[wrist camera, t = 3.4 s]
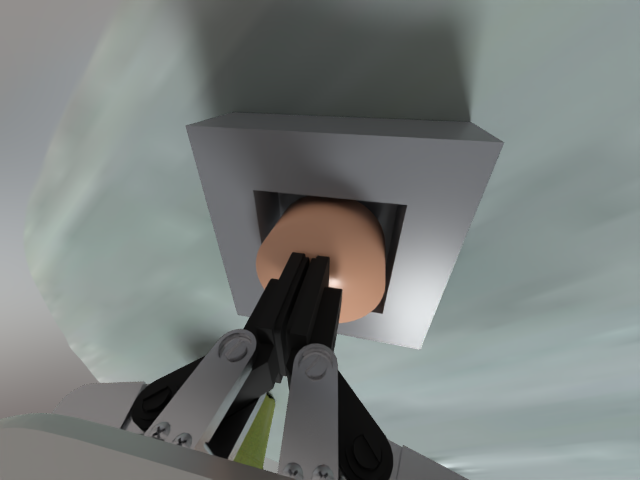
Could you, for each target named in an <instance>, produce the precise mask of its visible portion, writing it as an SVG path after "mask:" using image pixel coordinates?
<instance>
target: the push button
mask: <svg viewBox="0 0 640 480" xmlns="http://www.w3.org/2000/svg"><path fill="white" fill-rule="evenodd" d="M292 252H296V253H304V254H305V256H306V257H309V265H310V262H311V259H312V258H316V257H317V255H319V256H327V257H330V267H329V287H332V288H339V289H342V290H343V291H342V303H341V311H340V318H339V323H346V322H350V321H354V320H357V319H360V318H362V317H364V316H366V315H367V314H369V313H370V312H371V311H373V310H374V309H375V308H376V307H377V305H378V304H379V303H380V301H381V299H382V297H383V294H384V291H385V236H384V232H383V229H382V227H381V225H380V223H379V221H378V219H377V218H376V217H375V216H374V214H373V213H372V212H371V211H370V210H369V209H368V208H366V207H365V206H364V205H362V204H361V203H359V202H358V201H356V200H350V199H340V198H330V197H320V196H309V195H308V196H305V197H302V198H300V199H299V200H297V201H295V202H294V203H293V204H291V205H290V206H289V207H288V208H287V209H286V211H285V212H284V213H283V215H282V216H281V218H280V219H279V221H278V222H277V223H276V225H275V226H274V228H273V229H272V230H271V232H270V233H269V235H268V236H267V237H266V239H265V240H264V242H263V243H262V245H261V246H260V248H259V250H258V253H257V257H256V271H257V275H258V278H259V280H260V283H261V285H262V286H263V288H264V290H265V288H266V286H267V284H268V282H269V281H270V279H272V278H273V279H279V278H280V276H281V274H282V272H283V270H284V268H285V266H286V263H287V261H288V259H289V257H290V255H291V253H292Z"/></svg>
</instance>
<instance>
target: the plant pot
mask: <svg viewBox="0 0 640 480" xmlns="http://www.w3.org/2000/svg"><path fill="white" fill-rule="evenodd" d="M274 408H275V401H274V399H272V398H269V397H268V396H267V394H266V396H265V399H264V401H263V403H262V405H261V407H260V409H259V411H258V413H257V415H256V417H255V419H254V421H253V423H252V425H251V427H250V429H249V430H248V432H247V434H246V436H245V438H244V440H243V442H242V444H241V446H240V448H239V450H238V452H237V454H236V456H235V458H234V460H233V461H235V462H238V463H242V464H245V465H249V466H252V467H256V468H259V469H263V463H264V458H265V453H266V448H267V442H268V437H269V432H270V427H271V423H272V418H273V413H274Z"/></svg>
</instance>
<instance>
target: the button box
mask: <svg viewBox="0 0 640 480" xmlns="http://www.w3.org/2000/svg"><path fill="white" fill-rule="evenodd" d="M186 129H187V133H188V136H189V140H190V143H191V147H192V151H193V154H194V158H195V162H196V165H197V169H198V172H199V176H200V180H201V183H202V187H203V191H204V194H205V198H206V202H207V205H208V209H209V212H210V216H211V220H212V223H213V227H214V231H215V234H216V238H217V242H218V245H219V249H220V252H221V256H222V260H223V263H224V267H225V271H226V274H227V278H228V282H229V285H230V289H231V292H232V296H233V300H234V303H235V307H236V311H237V314H238V315H242V316H247V317H250V316H251V314H252V312H253V310H254V308H255V306H256V305H257V303H258V301H259V299H260V297H261V295H262V293H263V291H264V288H263V286H262V285H261V283H260V280H259V278H258V275H257V271H256V257H257V253H258V250H259V248H260V246H261V245H262V243H263V242H264V240H265V239H266V237H267V236H268V235H269V233H270V232H271V230H272V229H273V228H274V226H275V225H276V223H277V222H278V221H279V219H280V218H281V216H282V215H283V213H284V212H285V211H286V209H287V208H288V207H289V206H290V205H291V204H293V203H294V202H295V201H297V200H299V199H300V198H302V197H305V196H308V195H309V196H320V197H330V198H340V199H350V200H356V201H358V202H359V203H361V204H362V205H364V206H365V207H366V208H368V209H369V210H370V211H371V212H372V213H373V214H374V216H375V217H376V218H377V219H378V221H379V223H380V225H381V227H382V229H383V232H384V236H385V291H384V294H383V297H382V299H381V301H380V303H379V304H378V305H377V307H376V308H375V309H374V310H373V311H371V312H370V313H369V314H367V315H366V316H364V317H362V318H360V319H357V320H354V321H350V322H346V323H339V324H338V330H337V334H341V335H346V336H351V337H357V338H362V339H367V340H372V341H378V342H383V343H388V344H393V345H398V346H404V347H409V348H414V349H419V350H420V349H421V346H422V344H423V341H424V339H425V336H426V334H427V331H428V329H429V326H430V324H431V321H432V319H433V317H434V314H435V312H436V309H437V307H438V304H439V302H440V299H441V297H442V294H443V292H444V289H445V287H446V285H447V282H448V280H449V277H450V275H451V272H452V270H453V267H454V265H455V262H456V260H457V257H458V255H459V252H460V250H461V248H462V245H463V243H464V240H465V238H466V235H467V233H468V230H469V228H470V225H471V223H472V220H473V218H474V216H475V213H476V211H477V208H478V206H479V203H480V201H481V198H482V196H483V193H484V191H485V188H486V186H487V183H488V181H489V179H490V176H491V174H492V171H493V169H494V166H495V164H496V161H497V159H498V156H499V154H500V151H501V149H502V146H503V144H504V142H502V141H501V140H499V139H498V138H496V137H494V136H493V135H491V134H490V133H488V132H486V131H485V130H483V129H481V128H480V127H478V126H477V125H475V124H473V123H472V122H458V121H434V120H409V119H385V118H361V117H336V116H312V115H288V114H263V113H239V112H232V113H229V114H225V115H222V116H218V117H214V118H211V119H207V120H204V121H200V122H197V123H193V124H190V125H186Z"/></svg>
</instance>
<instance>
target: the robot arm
mask: <svg viewBox="0 0 640 480" xmlns="http://www.w3.org/2000/svg"><path fill="white" fill-rule="evenodd" d="M329 267H330V257H327V256H319V255H317V257H316V258H312V259H311V262H310V265H309V257H306V256H305V254H304V253H296V252H292V253H291V255H290V257H289V259H288V261H287V263H286V266H285V268H284V270H283V272H282V274H281V276H280V278H279V279H273V278H272V279H270V281H269V282H268V284H267V286H266V288H265V290H264V291H263V293H262V295H261V297H260V299H259V301H258V303H257V305H256V306H255V308H254V310H253V312H252V314H251V316H250V318H249V320H248V321H247V323H246V325H245V327H244V329H236V330H232V331H229V332H228V333H226V334H224V335H223V336H222V337H221V338H220V339H219V340H218V341H217V342H216V343H215V345H214V346H213V347H212V348H211V350H210V351H209V352H208V354H207V355H206V356H204V357H202V358H200V359H198V360H196V361H194V362H192V363H190V364H188V365H186V366H184V367H182V368H180V369H178V370H176V371H174V372H172V373H170V374H168V375H166V376H164V377H162V378H160V379H158V380H156V381H154V382H153V383H151V384H146V383H145V382H119V383H93V384H87V385H83V386H81V387H79V388H77V389H75V390H73V391H72V392H70V393H69V394H68V395H66V396H65V397H64V399H63V400H62V401H61V402H60V403H59V404H58V405H57V407H56V408H55V409H54V411H53V412H52V413H51V414H47V413H33V414H24V415H17V416H12V417H8V418H4V419H0V480H469V479H467V478H465V477H463V476H461V475H459V474H457V473H455V472H453V471H451V470H450V469H448V468H446V467H444V466H442V465H440V464H438V463H436V462H434V461H433V460H431V459H429V458H427V457H425V456H423V455H421V454H419V453H417V452H416V451H414V450H412V449H410V448H408V447H406V446H404V445H403V446H402V447H401V446H399V445H397V444H395V443H394V442H392V441H390V440H388V439H387V438H386V436H385V435H384V433H383V432H382V430H381V429H380V428H379V426H378V425H377V424H376V422H375V421H374V419H373V418H372V417H371V415H370V414H369V412H368V411H367V410H366V408H365V407H364V405H363V404H362V403H361V401H360V400H359V398H358V397H357V396H356V394H355V393H354V391H353V390H352V389H351V387H350V386H349V385H348V383H347V382H346V380H345V379H344V378H343V376H342V375H341V373H340V372H339V371H338V363H337V358H336V356H335V354H334V347H335V341H336V336H337V330H338V324H339V318H340V311H341V303H342V291H343V290H342V289H339V288H332V287H329ZM283 376H287V378H288V386H289V397H288V404H287V411H286V418H285V425H284V432H283V439H282V446H281V452H280V459H279V466H278V473H277V474H276V473H273V472H269V471H266V470H263V469H259V468H256V467H252V466H249V465H245V464H242V463H238V462H235V461H233V460H234V458H235V456H236V454H237V452H238V450H239V448H240V446H241V444H242V442H243V440H244V438H245V436H246V434H247V432H248V430H249V429H250V427H251V425H252V423H253V421H254V419H255V417H256V415H257V413H258V411H259V409H260V407H261V405H262V403H263V401H264V399H265V396H266V393H267V392H268V391H270V390H271V389H273V387H274V384H275V382H276V383H281V380H282V377H283Z"/></svg>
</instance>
